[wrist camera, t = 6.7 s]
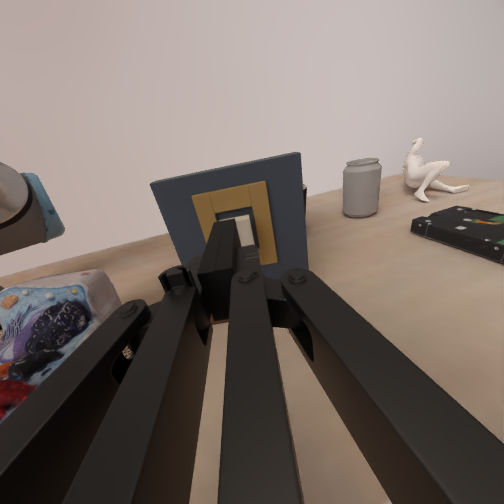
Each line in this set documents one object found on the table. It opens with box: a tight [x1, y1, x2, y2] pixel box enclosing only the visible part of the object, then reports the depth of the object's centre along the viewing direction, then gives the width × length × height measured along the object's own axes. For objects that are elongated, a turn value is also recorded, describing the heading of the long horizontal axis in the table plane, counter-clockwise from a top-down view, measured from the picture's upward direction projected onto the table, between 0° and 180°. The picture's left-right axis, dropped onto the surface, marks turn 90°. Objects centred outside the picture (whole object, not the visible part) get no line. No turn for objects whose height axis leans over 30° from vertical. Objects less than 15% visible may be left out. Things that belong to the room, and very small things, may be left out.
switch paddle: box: [219, 215, 255, 246], centre depth 23 cm, size 1×3×4 cm, turn 94°
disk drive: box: [410, 206, 504, 264], centre depth 32 cm, size 10×3×15 cm
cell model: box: [0, 269, 121, 423], centre depth 21 cm, size 13×11×20 cm
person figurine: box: [403, 138, 470, 202], centre depth 54 cm, size 13×13×18 cm
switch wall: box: [150, 152, 309, 324], centre depth 28 cm, size 12×16×18 cm
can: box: [343, 158, 382, 217], centre depth 48 cm, size 8×8×12 cm
